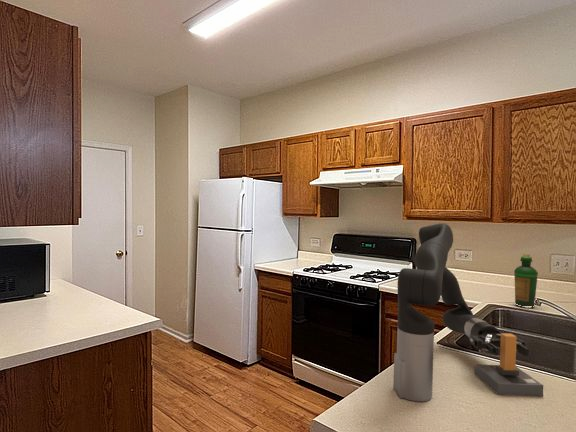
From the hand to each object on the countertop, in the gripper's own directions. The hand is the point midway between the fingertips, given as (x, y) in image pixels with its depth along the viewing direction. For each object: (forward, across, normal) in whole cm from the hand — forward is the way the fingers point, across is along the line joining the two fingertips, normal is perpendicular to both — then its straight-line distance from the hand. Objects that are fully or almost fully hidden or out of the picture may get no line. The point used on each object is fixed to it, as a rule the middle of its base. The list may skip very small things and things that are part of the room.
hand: (512, 352), depth 102 cm
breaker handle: (-2, 0, +7) cm, 7 cm away
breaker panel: (-2, 0, +10) cm, 10 cm away
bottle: (-93, +64, +10) cm, 113 cm away
